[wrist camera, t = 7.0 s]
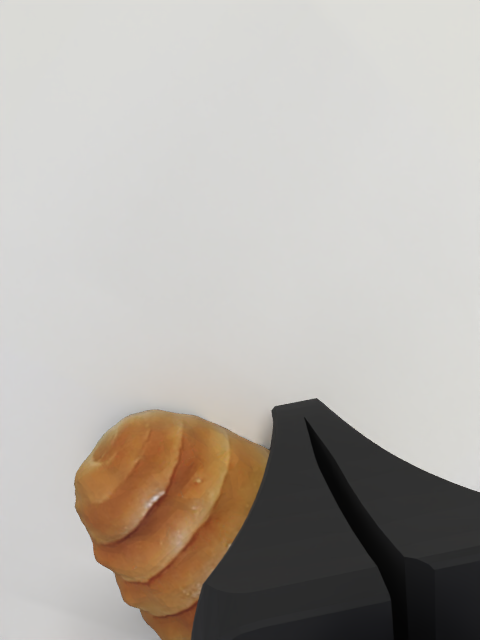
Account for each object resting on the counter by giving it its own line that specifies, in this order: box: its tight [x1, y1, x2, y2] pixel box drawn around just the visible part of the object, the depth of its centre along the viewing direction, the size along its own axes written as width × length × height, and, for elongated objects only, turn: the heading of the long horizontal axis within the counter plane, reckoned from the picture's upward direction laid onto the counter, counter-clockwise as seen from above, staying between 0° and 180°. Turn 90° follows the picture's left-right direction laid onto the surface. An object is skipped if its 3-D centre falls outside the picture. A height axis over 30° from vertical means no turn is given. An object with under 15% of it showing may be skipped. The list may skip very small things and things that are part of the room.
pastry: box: [74, 410, 270, 640], centre depth 13 cm, size 9×7×4 cm
